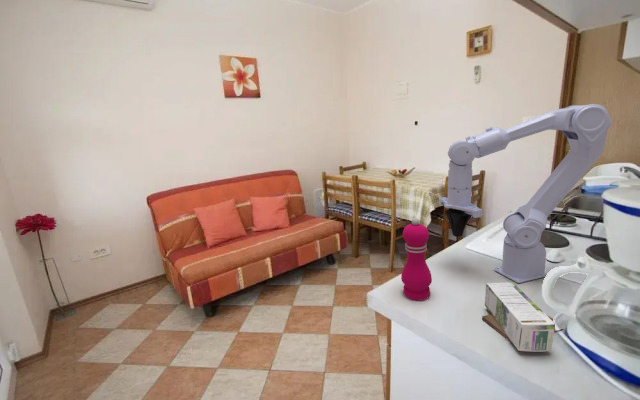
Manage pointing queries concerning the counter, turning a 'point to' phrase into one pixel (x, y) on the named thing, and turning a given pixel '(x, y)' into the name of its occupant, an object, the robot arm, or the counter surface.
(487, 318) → the walnut board
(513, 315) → the syrup box
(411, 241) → the pepper mill
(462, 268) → the counter surface
